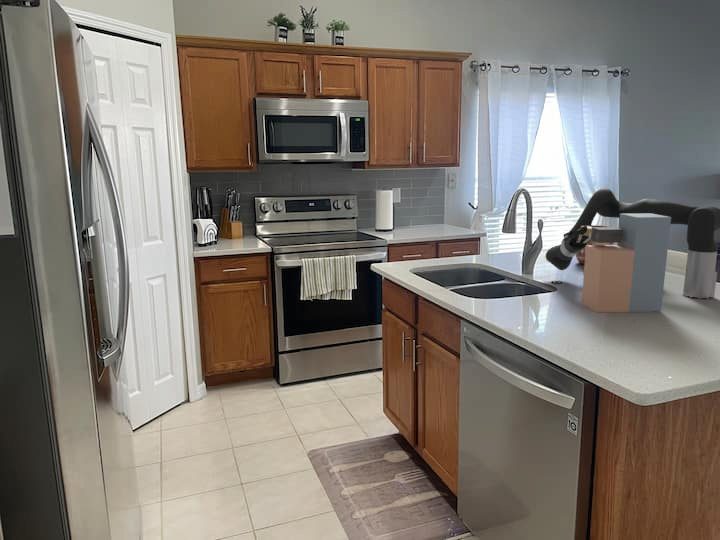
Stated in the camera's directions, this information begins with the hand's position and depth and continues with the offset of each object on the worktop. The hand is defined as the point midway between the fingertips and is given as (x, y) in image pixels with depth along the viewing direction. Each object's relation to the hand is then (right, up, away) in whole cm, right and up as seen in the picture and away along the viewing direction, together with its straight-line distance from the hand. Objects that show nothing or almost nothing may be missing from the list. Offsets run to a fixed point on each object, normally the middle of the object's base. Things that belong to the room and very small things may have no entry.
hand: (591, 228), depth 201 cm
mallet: (0, -4, -4) cm, 6 cm away
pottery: (+28, -13, +65) cm, 72 cm away
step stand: (+6, -28, -10) cm, 31 cm away
